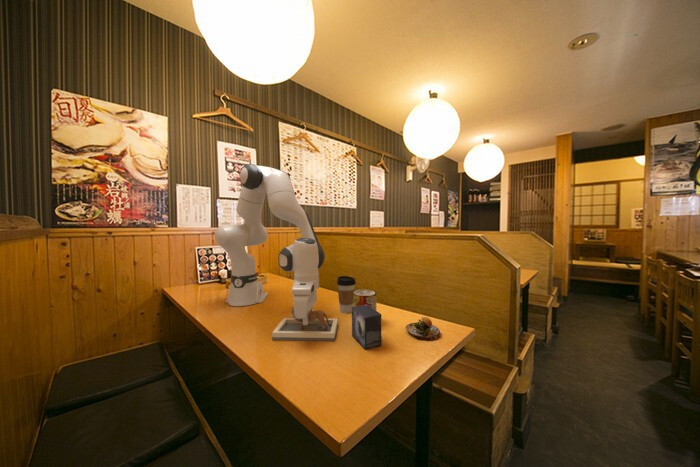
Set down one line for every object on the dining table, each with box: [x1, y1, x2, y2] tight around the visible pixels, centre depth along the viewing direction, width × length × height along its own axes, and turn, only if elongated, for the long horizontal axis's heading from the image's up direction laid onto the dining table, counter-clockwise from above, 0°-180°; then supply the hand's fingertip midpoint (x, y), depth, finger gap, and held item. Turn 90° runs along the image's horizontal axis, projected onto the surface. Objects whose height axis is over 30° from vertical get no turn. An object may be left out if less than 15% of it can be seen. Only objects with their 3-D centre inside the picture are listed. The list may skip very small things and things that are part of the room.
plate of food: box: [405, 316, 441, 342], centre depth 87 cm, size 12×12×8 cm
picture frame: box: [271, 317, 339, 342], centre depth 88 cm, size 13×21×2 cm, turn 88°
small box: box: [351, 304, 383, 351], centre depth 81 cm, size 11×6×10 cm, turn 23°
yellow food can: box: [353, 289, 377, 311], centre depth 96 cm, size 9×9×12 cm
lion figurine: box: [290, 305, 332, 331], centre depth 88 cm, size 15×5×9 cm, turn 100°
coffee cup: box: [336, 275, 357, 314], centre depth 109 cm, size 8×8×15 cm
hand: (307, 321), depth 88 cm, fingers closed on lion figurine, 3 cm apart
